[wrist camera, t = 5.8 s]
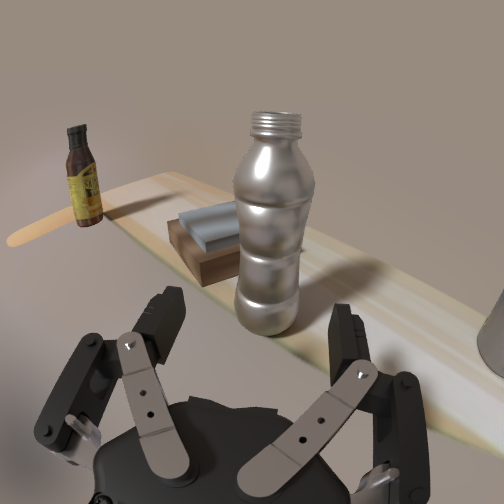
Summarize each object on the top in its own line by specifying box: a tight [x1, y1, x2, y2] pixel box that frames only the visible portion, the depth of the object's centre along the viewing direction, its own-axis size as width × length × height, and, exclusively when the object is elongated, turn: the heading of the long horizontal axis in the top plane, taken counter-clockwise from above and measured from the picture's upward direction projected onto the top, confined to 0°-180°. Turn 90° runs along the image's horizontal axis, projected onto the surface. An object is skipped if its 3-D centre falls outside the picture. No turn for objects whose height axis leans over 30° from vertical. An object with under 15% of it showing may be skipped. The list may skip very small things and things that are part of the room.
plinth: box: [167, 201, 240, 287], centre depth 39 cm, size 13×13×5 cm
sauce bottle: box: [66, 124, 103, 227], centre depth 44 cm, size 6×6×20 cm
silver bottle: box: [233, 112, 315, 336], centre depth 23 cm, size 6×7×20 cm
